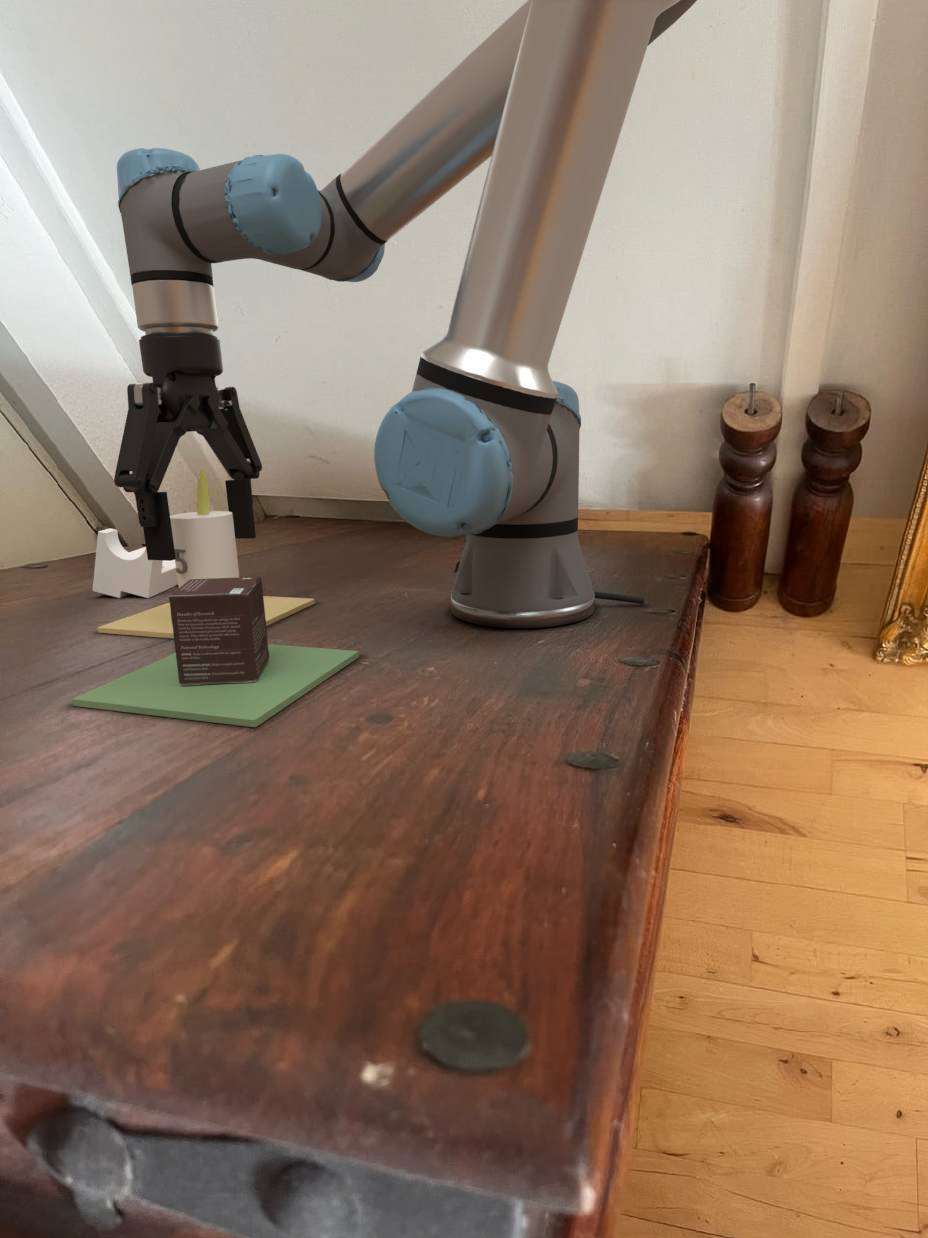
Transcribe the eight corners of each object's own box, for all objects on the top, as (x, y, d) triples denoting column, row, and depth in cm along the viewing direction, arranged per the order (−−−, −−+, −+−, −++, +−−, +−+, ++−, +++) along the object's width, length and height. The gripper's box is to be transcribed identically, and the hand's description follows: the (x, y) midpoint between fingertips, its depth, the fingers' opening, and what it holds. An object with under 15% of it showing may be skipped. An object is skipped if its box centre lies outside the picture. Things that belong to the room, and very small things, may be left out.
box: (199, 662, 63) (188, 578, 62) (271, 659, 64) (262, 575, 62) (178, 687, 58) (165, 595, 56) (257, 683, 58) (247, 591, 56)
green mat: (359, 657, 66) (358, 650, 65) (255, 728, 51) (254, 720, 51) (206, 645, 71) (206, 639, 70) (72, 706, 56) (71, 698, 56)
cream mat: (315, 603, 86) (314, 598, 85) (231, 643, 71) (230, 637, 71) (198, 597, 91) (198, 592, 90) (98, 632, 76) (97, 627, 76)
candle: (167, 615, 80) (148, 473, 76) (216, 602, 85) (200, 468, 81) (207, 622, 76) (189, 473, 72) (255, 608, 82) (240, 469, 78)
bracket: (147, 605, 91) (154, 545, 89) (92, 590, 91) (98, 531, 89) (195, 582, 104) (202, 529, 101) (147, 569, 104) (153, 517, 102)
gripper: (224, 346, 86) (244, 530, 91) (44, 323, 63) (86, 569, 68) (281, 342, 83) (298, 530, 89) (115, 316, 61) (152, 572, 66)
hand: (206, 548), depth 79 cm, fingers open, 13 cm apart
